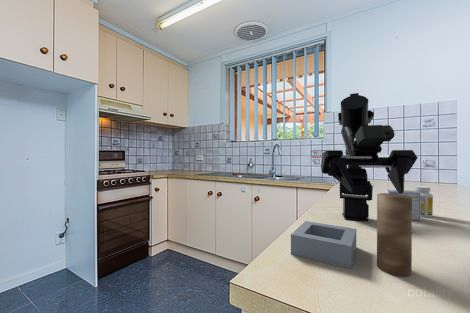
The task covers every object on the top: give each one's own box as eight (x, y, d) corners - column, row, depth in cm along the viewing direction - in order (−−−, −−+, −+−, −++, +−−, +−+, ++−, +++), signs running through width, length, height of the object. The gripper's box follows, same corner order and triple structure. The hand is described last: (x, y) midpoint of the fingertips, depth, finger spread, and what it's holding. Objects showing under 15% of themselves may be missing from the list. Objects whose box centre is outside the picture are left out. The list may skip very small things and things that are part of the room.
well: (351, 268, 39) (351, 246, 39) (290, 253, 45) (290, 234, 45) (356, 247, 49) (356, 228, 49) (305, 237, 55) (305, 220, 55)
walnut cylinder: (381, 273, 38) (382, 197, 38) (373, 260, 43) (373, 192, 42) (417, 278, 36) (417, 199, 36) (404, 264, 41) (404, 194, 41)
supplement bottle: (416, 216, 72) (416, 187, 72) (408, 212, 77) (408, 185, 77) (436, 218, 71) (436, 188, 71) (427, 214, 76) (427, 185, 76)
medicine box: (416, 217, 72) (416, 190, 72) (421, 221, 68) (421, 192, 68) (387, 214, 75) (387, 189, 75) (390, 218, 71) (390, 191, 71)
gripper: (323, 116, 52) (336, 165, 41) (412, 113, 49) (451, 165, 38) (316, 150, 60) (326, 199, 49) (393, 150, 57) (421, 202, 46)
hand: (376, 192), depth 46 cm, fingers open, 9 cm apart
